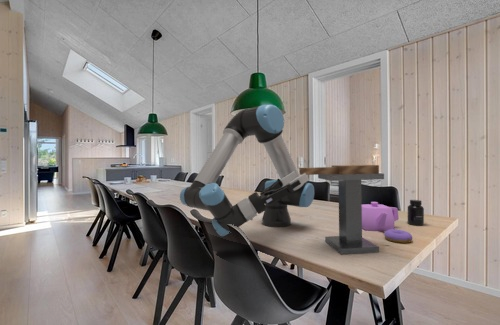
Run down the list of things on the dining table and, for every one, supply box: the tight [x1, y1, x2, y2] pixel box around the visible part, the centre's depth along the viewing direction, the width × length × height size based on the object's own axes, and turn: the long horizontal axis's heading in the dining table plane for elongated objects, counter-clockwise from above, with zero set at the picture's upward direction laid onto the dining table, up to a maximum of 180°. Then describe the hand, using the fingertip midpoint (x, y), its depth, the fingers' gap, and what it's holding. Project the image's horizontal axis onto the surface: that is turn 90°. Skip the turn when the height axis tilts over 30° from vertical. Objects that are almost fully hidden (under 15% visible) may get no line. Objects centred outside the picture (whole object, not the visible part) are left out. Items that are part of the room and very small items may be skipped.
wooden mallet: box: [298, 164, 380, 176], centre depth 94 cm, size 28×9×3 cm, turn 96°
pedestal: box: [317, 172, 385, 255], centre depth 95 cm, size 20×14×28 cm
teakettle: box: [362, 201, 400, 232], centre depth 121 cm, size 17×17×12 cm
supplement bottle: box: [407, 199, 425, 227], centre depth 125 cm, size 7×7×12 cm
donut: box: [383, 228, 413, 244], centre depth 102 cm, size 10×9×5 cm
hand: (301, 175), depth 92 cm, fingers open, 13 cm apart
